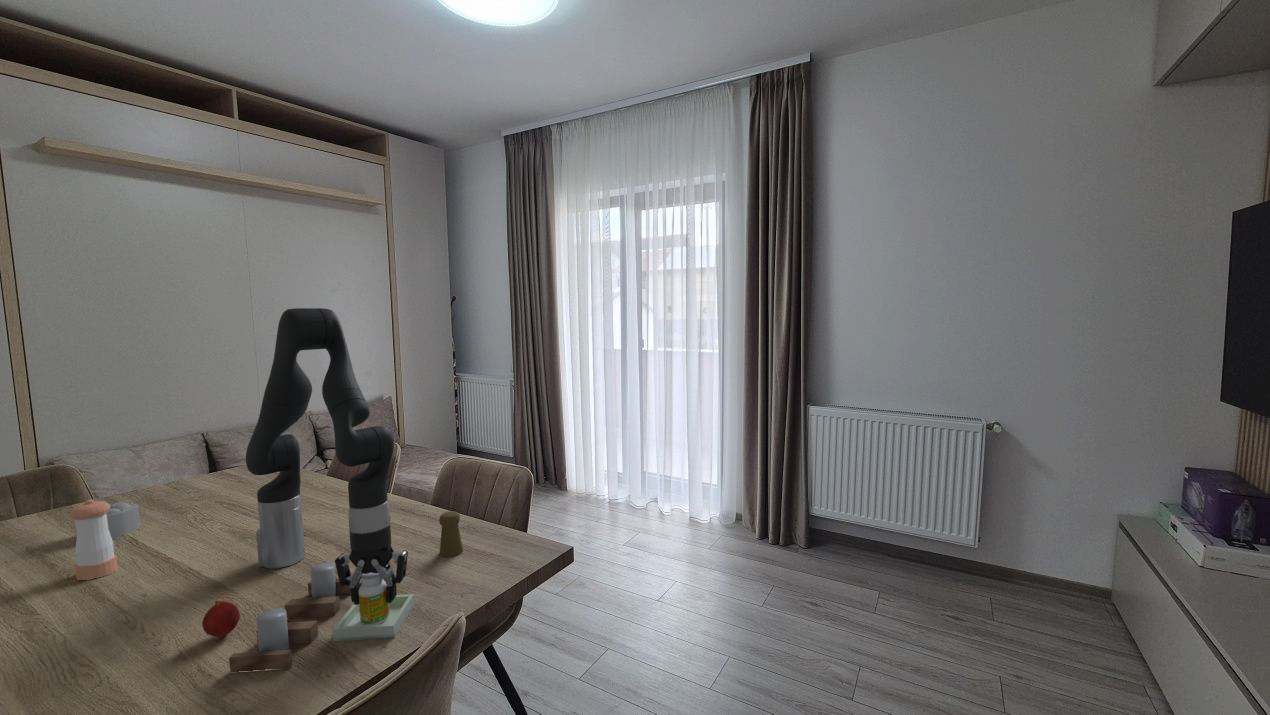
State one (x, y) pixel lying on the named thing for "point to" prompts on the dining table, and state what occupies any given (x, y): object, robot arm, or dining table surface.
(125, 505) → the grey egg carton
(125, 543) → the dining table surface
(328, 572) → the cylinder
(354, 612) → the tray
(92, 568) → the salt shaker
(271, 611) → the front canister
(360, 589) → the supplement bottle
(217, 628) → the onion
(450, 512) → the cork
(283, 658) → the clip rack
